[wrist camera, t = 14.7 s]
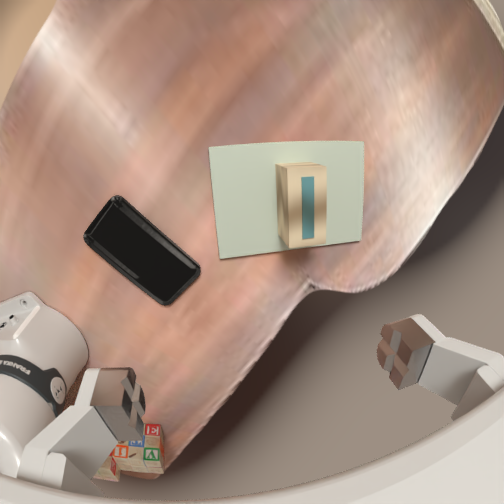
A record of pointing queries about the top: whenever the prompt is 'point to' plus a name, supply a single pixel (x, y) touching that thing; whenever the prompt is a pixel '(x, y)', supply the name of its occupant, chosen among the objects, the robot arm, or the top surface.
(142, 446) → the stack of blocks
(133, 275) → the phone
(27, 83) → the top surface
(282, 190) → the maple block
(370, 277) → the top surface
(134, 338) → the top surface
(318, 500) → the robot arm
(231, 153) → the rubber mat
